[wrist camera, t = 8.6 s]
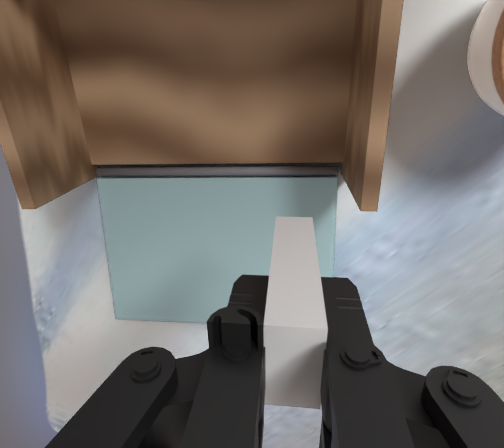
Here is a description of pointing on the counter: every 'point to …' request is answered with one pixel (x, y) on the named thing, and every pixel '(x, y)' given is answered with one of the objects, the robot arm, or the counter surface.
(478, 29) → the lidded jar
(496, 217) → the counter surface
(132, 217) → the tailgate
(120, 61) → the open wooden tray
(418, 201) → the counter surface
